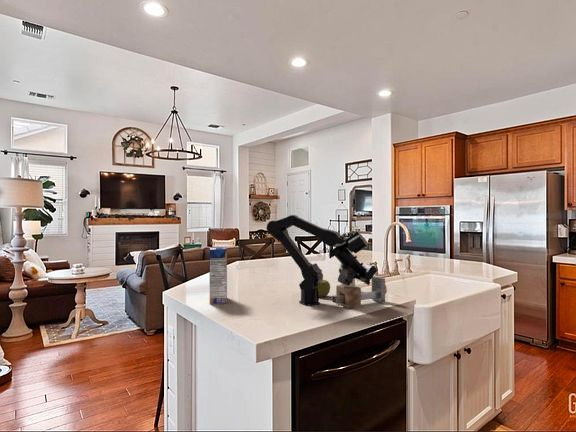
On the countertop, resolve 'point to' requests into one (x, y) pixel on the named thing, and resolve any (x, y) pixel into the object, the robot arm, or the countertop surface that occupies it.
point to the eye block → (349, 295)
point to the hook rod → (375, 294)
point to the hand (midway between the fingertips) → (368, 284)
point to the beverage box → (218, 275)
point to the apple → (323, 288)
